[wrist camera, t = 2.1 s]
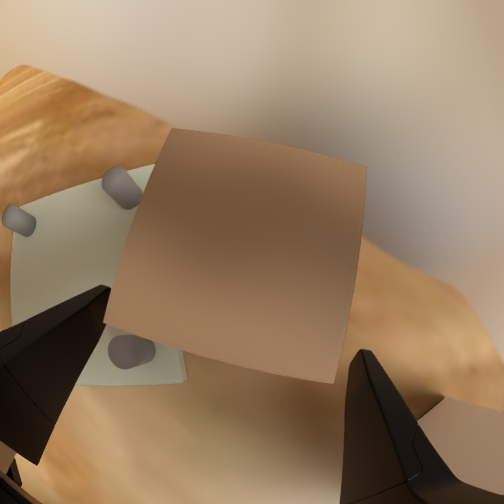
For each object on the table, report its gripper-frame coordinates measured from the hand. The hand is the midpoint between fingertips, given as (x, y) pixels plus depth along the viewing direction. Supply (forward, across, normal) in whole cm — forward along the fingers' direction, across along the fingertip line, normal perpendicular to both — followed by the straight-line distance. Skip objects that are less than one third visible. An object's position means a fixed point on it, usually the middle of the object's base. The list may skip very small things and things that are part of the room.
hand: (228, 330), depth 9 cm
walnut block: (+8, 0, +5) cm, 10 cm away
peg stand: (+7, +13, +7) cm, 16 cm away
